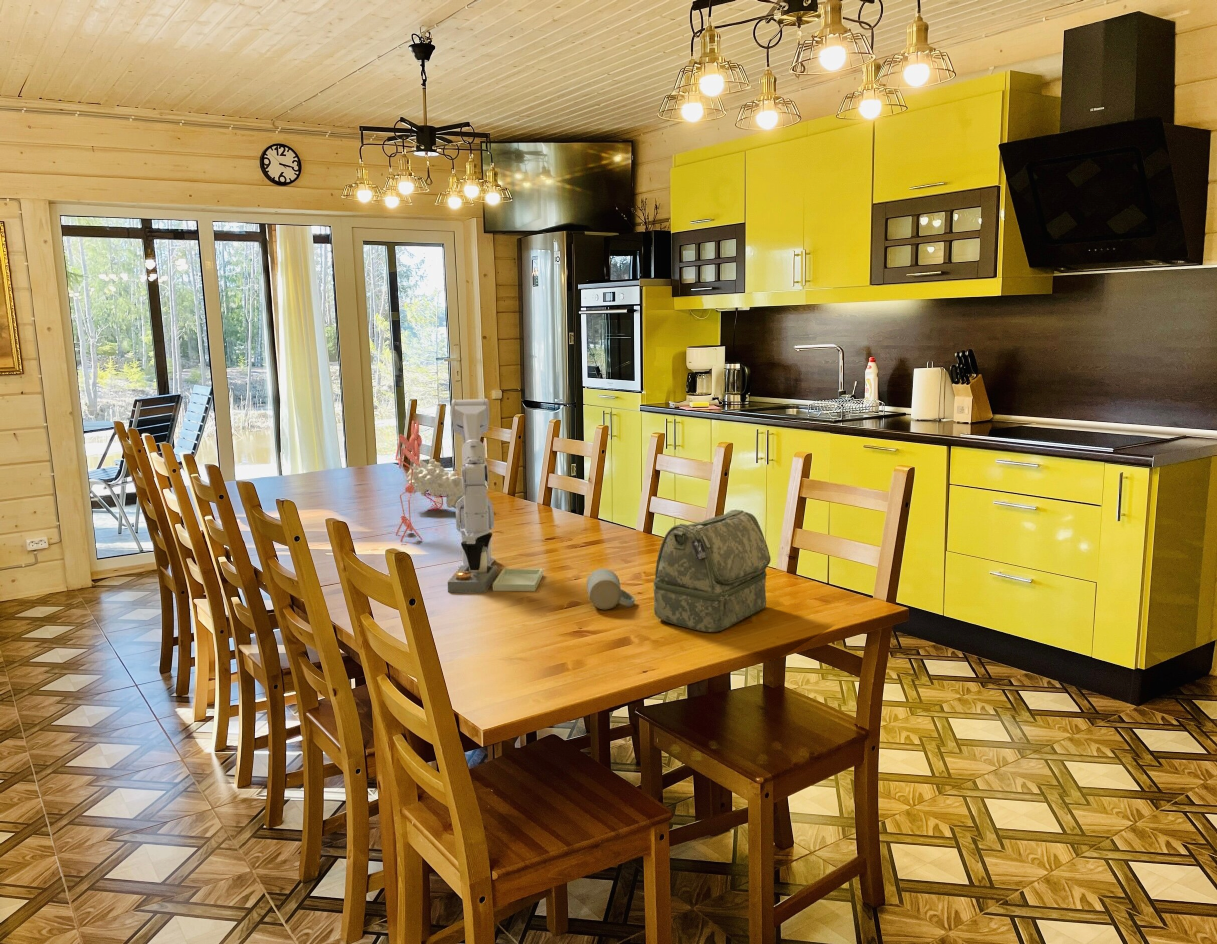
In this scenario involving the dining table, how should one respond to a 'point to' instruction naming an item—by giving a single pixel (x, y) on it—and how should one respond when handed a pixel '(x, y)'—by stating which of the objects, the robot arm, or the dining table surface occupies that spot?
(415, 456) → the figurine
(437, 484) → the lumpy white molecule
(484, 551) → the cylinder
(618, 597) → the ceramic mug
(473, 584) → the housing
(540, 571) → the tray
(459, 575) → the orange round piece
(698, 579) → the lunch bag
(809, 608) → the dining table surface
